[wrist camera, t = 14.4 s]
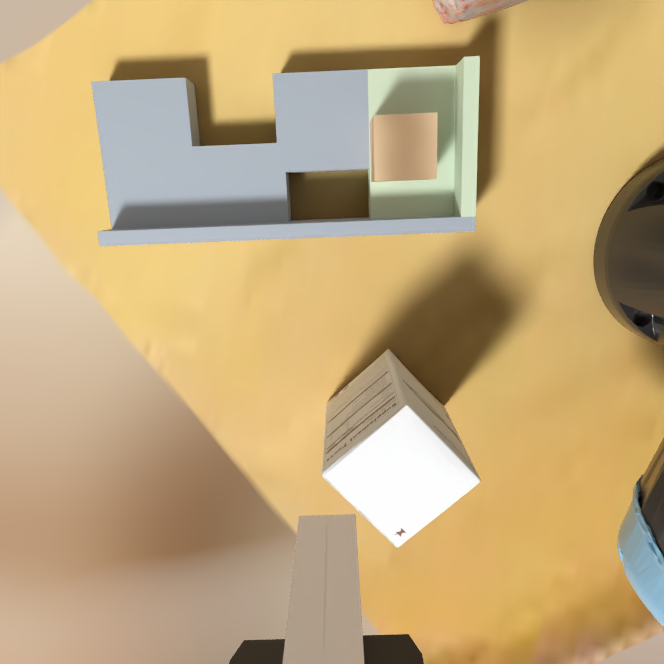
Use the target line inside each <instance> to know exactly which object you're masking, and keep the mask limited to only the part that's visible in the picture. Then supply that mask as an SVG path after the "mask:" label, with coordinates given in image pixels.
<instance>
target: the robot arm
mask: <svg viewBox="0 0 664 664" xmlns="http://www.w3.org/2000/svg"><path fill="white" fill-rule="evenodd" d="M594 275H595V280H596V284H597V288H598V291H599V294H600V296H601V298H602V300H603V302H604V304H605V306H606V307H607V309H608V310H609V312H610V313H611V314H612V315H613V317H614V318H615V319H616V320H617V321H618V322H619V323H621V324H622V325H623V326H624V327H625V328H627V329H628V330H630V331H631V332H633V333H635V334H637V335H639V336H641V337H643V338H645V339H647V340H649V341H651V342H654V343H656V344H659V345H662V346H664V158H663V159H661V160H659V161H657V162H655V163H653V164H652V165H650V166H648V167H647V168H645V169H644V170H643V171H641V172H640V173H639V174H637V175H636V176H635V177H634V178H633V179H632V180H631V181H630V182H629V183H628V184H627V185H626V186H625V187H624V188H623V189H622V190H621V191H620V192H619V194H618V195H617V196H616V198H615V199H614V200H613V202H612V203H611V205H610V207H609V208H608V210H607V212H606V214H605V216H604V218H603V220H602V223H601V225H600V228H599V231H598V234H597V238H596V243H595V249H594ZM618 552H619V555H620V559H621V561H622V563H623V565H624V571H625V574H626V576H627V578H628V580H629V582H630V583H631V585H632V587H633V589H634V590H635V592H636V593H637V595H638V596H639V598H640V599H641V601H642V602H643V603H644V605H645V606H646V607H647V609H648V610H649V611H650V612H651V613H652V615H653V616H654V617H655V618H656V619H657V620H658V621H659V623H660V624H661V625H662V626H663V627H664V439H663V440H662V442H661V444H660V446H659V448H658V450H657V451H656V453H655V455H654V457H653V459H652V461H651V462H650V464H649V466H648V468H647V470H646V472H645V474H643V475H642V476H641V477H640V478H639V480H638V481H637V483H636V484H635V486H634V490H633V499H632V502H631V504H630V507H629V509H628V511H627V513H626V515H625V518H624V520H623V522H622V524H621V527H620V530H619V534H618ZM229 664H424V663H423V657H422V653H421V652H420V651H419V649H418V648H417V646H416V645H415V643H414V642H413V640H412V639H411V637H410V636H409V634H402V635H367V636H366V635H365V636H363V632H362V616H361V599H360V582H359V566H358V549H357V532H356V516H355V514H351V515H318V516H299V522H298V531H297V539H296V549H295V557H294V566H293V575H292V584H291V593H290V601H289V612H288V620H287V628H286V637H285V639H276V640H244V641H243V643H242V644H241V646H240V647H239V648H238V650H237V651H236V653H235V654H234V656H233V657H232V659H231V660H230V663H229Z"/></svg>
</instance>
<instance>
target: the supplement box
mask: <svg viewBox="0 0 664 664" xmlns="http://www.w3.org/2000/svg"><path fill="white" fill-rule="evenodd" d="M322 476H323V477H324V479H325V480H327V481H328V482H329V483H330V484H331V485H332V486H333V487H334V488H335V489H336V490H337V491H338V492H339V493H340V494H341V495H342V496H343V497H344V498H346V499H347V500H348V501H349V502H350V503H351V504H352V505H353V506H354V507H355V508H356V509H357V510H358V511H359V512H360V513H361V514H362V515H363V516H364V517H365V518H367V519H368V520H369V521H370V522H371V523H372V524H373V525H374V526H375V527H376V528H377V529H378V530H379V531H380V532H381V533H382V534H383V535H384V536H385V537H387V538H388V539H389V540H390V541H391V542H392V543H393V544H394V546H396V547H400V546H401V545H402V544H403V543H404V542H406V541H407V540H408V539H409V538H411V537H412V536H413V535H414V534H416V533H417V532H418V531H420V530H421V529H422V528H423V527H424V526H426V525H427V524H428V523H430V522H431V521H432V520H433V519H435V518H436V517H437V516H438V515H440V514H441V513H442V512H443V511H445V510H446V509H447V508H448V507H450V506H451V505H452V504H453V503H455V502H456V501H457V500H458V499H460V498H461V497H462V496H464V495H465V494H466V493H467V492H469V491H470V490H471V489H472V488H473V487H475V486H476V485H477V484H478V483H479V482H480V478H479V476H478V474H477V472H476V470H475V468H474V466H473V464H472V462H471V460H470V458H469V456H468V454H467V452H466V450H465V448H464V446H463V444H462V441H461V439H460V437H459V435H458V433H457V431H456V429H455V427H454V425H453V423H452V421H451V419H450V417H449V415H448V413H447V411H446V409H445V407H444V406H443V405H442V404H441V403H440V402H439V401H438V400H437V399H436V398H435V397H434V396H433V395H432V394H431V393H430V392H429V391H428V390H427V389H426V388H425V387H424V386H423V385H422V384H421V383H420V382H419V381H418V380H417V379H416V378H415V377H414V376H413V375H412V374H411V373H410V371H409V370H408V369H407V368H406V367H405V366H404V365H403V364H402V363H401V362H400V361H399V359H398V358H397V357H396V356H395V355H394V354H393V353H392V352H391V350H390V349H387V350H386V351H385V352H384V353H383V354H382V355H381V356H379V357H378V358H377V359H376V360H375V361H374V362H373V363H372V364H370V365H369V366H368V367H367V368H366V369H365V370H364V371H363V372H361V373H360V374H359V375H358V376H357V377H356V378H355V379H353V380H352V381H351V382H350V383H349V384H348V385H347V386H345V387H344V388H343V389H342V390H341V391H340V392H339V393H338V394H337V395H335V396H334V397H333V398H332V399H331V400H330V401H329V402H328V403H327V407H326V421H325V436H324V452H323V467H322Z"/></svg>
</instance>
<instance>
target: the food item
mask: <svg viewBox="0 0 664 664" xmlns="http://www.w3.org/2000/svg"><path fill="white" fill-rule="evenodd" d="M525 1H527V0H433V3H434V7H435V9H436V11H437V12H438V14H439V16H440V17H441V19H442V21H443V22H444V23H449V24H452V23H456V22H461V21H466V20H470V19H473V18H477V17H480V16H483V15H486V14H489V13H493V12H496V11H499V10H502V9H505V8H508V7H511V6H513V5H516V4H519V3H522V2H525Z"/></svg>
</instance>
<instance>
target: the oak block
mask: <svg viewBox="0 0 664 664" xmlns="http://www.w3.org/2000/svg"><path fill="white" fill-rule="evenodd" d="M437 114H438V112H434V113H411V114H387V115H373V117H372V119H371V121H370V161H371V182H385V181H410V180H430V179H437Z"/></svg>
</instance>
